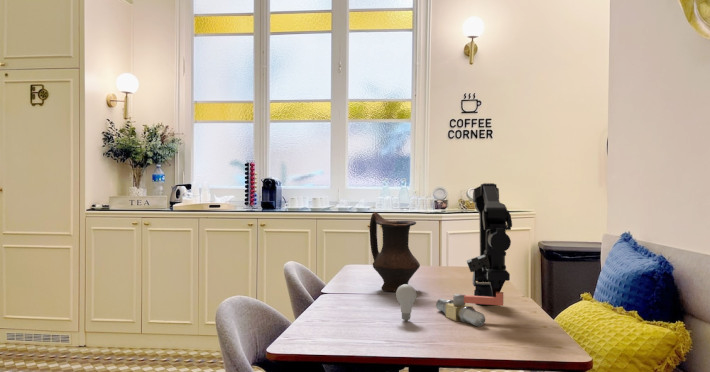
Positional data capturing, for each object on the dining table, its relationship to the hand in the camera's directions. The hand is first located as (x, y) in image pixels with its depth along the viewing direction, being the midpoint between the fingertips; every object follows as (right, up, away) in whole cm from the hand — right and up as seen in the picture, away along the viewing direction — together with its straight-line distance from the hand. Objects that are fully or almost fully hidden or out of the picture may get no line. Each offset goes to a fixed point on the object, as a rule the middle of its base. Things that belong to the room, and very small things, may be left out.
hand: (495, 298), depth 170 cm
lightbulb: (-27, -6, -3) cm, 28 cm away
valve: (-11, -6, +1) cm, 12 cm away
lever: (-5, -2, -1) cm, 6 cm away
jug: (-28, -6, +49) cm, 57 cm away
